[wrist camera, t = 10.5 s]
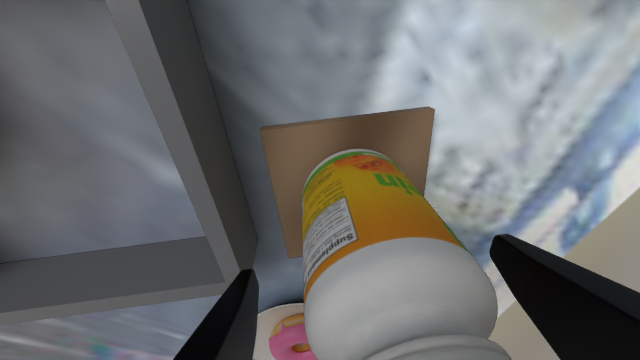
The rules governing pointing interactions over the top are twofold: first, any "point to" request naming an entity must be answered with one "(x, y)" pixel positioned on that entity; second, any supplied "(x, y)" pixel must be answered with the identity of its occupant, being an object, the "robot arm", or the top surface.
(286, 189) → the walnut coaster
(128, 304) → the bin rim
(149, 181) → the top surface
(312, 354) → the donut
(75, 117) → the top surface
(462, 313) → the supplement bottle
